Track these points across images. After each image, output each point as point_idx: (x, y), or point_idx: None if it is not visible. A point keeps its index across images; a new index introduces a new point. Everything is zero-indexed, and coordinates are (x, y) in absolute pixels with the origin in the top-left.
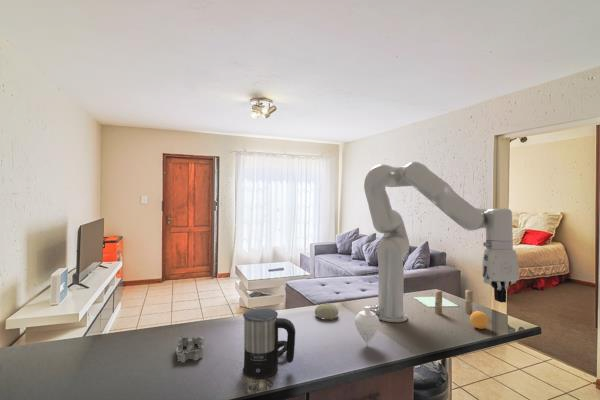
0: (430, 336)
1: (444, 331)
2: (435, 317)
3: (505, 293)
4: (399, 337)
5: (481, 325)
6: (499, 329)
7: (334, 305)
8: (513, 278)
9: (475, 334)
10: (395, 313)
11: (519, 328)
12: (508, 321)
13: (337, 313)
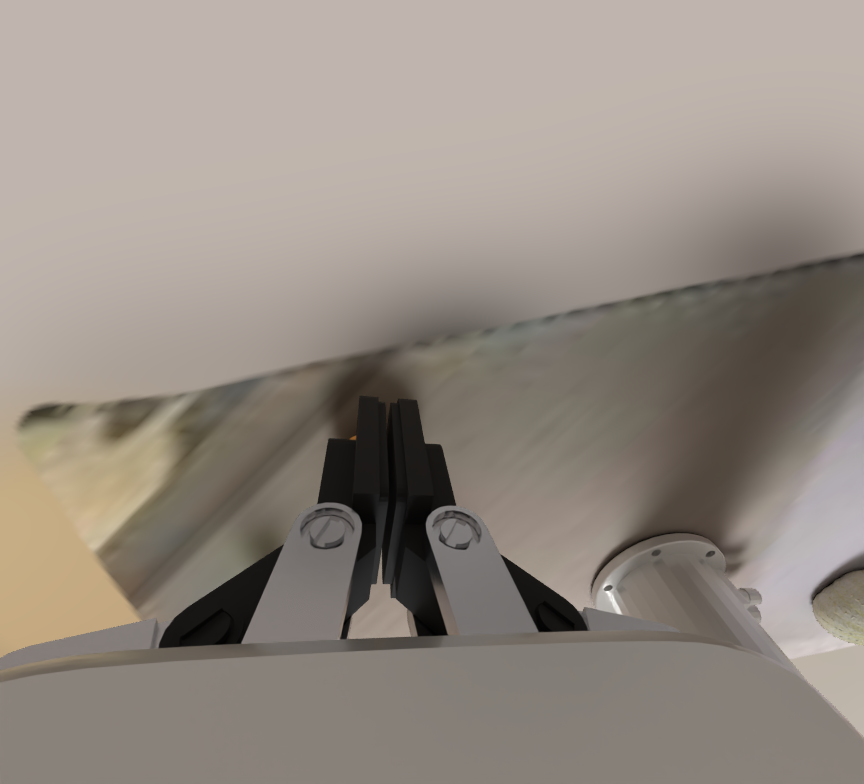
0: (678, 405)
1: (571, 441)
2: None
3: (364, 458)
4: (802, 415)
5: None
6: (273, 426)
7: (859, 631)
8: (109, 739)
9: (456, 392)
10: (697, 571)
11: (137, 422)
12: (136, 503)
13: (852, 592)
